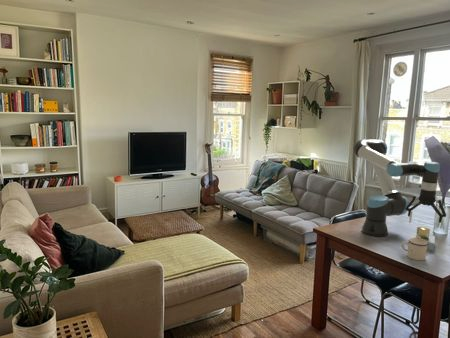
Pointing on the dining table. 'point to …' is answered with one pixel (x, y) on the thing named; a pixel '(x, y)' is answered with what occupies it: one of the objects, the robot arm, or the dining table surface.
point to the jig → (430, 241)
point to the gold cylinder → (423, 232)
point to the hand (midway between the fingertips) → (423, 224)
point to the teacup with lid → (416, 248)
